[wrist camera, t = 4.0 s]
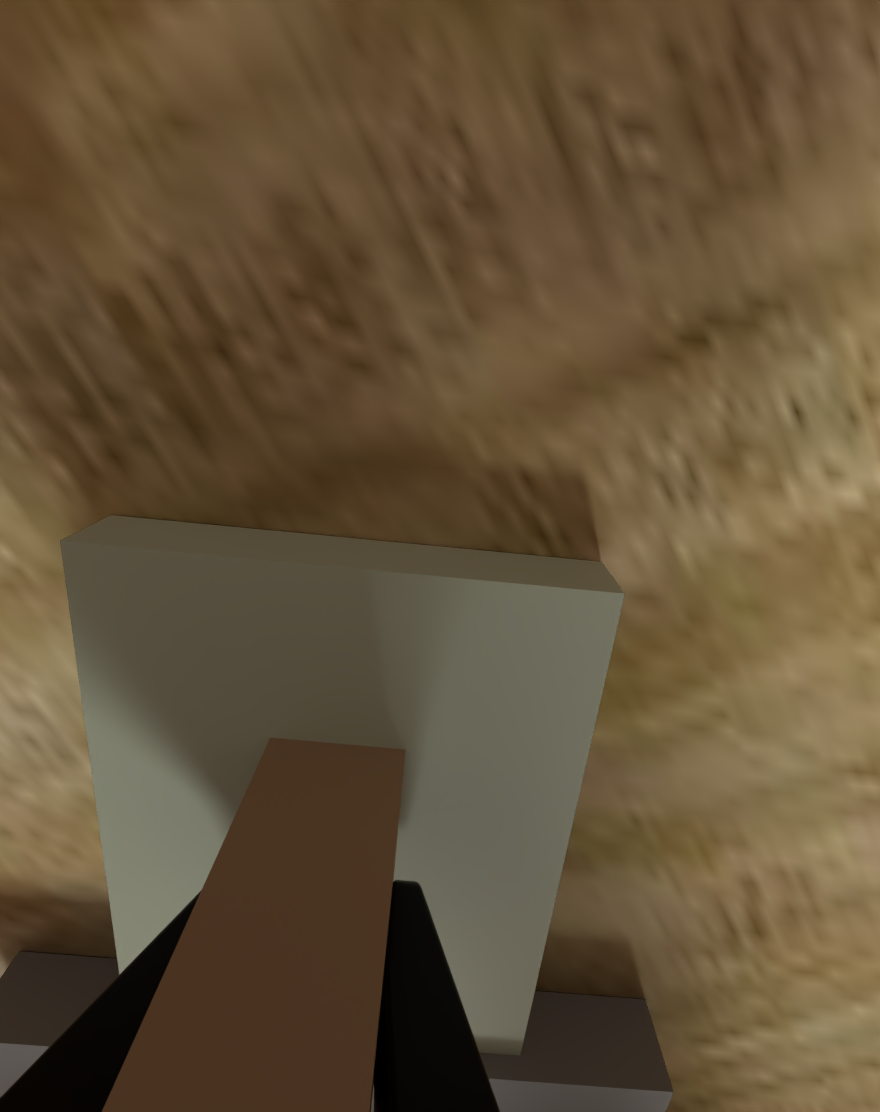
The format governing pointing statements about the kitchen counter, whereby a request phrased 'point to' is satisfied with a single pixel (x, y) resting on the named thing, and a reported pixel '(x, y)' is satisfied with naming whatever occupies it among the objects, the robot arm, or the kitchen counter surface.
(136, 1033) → the robot arm
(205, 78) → the kitchen counter surface
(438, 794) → the door
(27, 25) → the kitchen counter surface
